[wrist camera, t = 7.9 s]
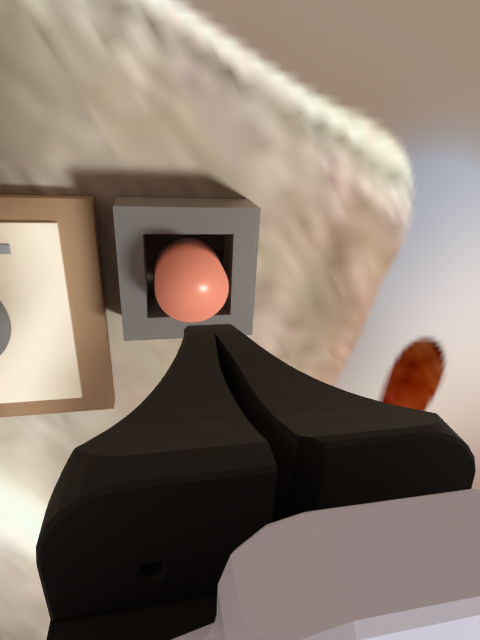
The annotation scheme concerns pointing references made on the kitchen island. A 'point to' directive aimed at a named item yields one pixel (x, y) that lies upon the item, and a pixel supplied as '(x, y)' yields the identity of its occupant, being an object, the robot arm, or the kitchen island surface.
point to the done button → (190, 280)
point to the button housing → (184, 218)
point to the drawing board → (52, 307)
